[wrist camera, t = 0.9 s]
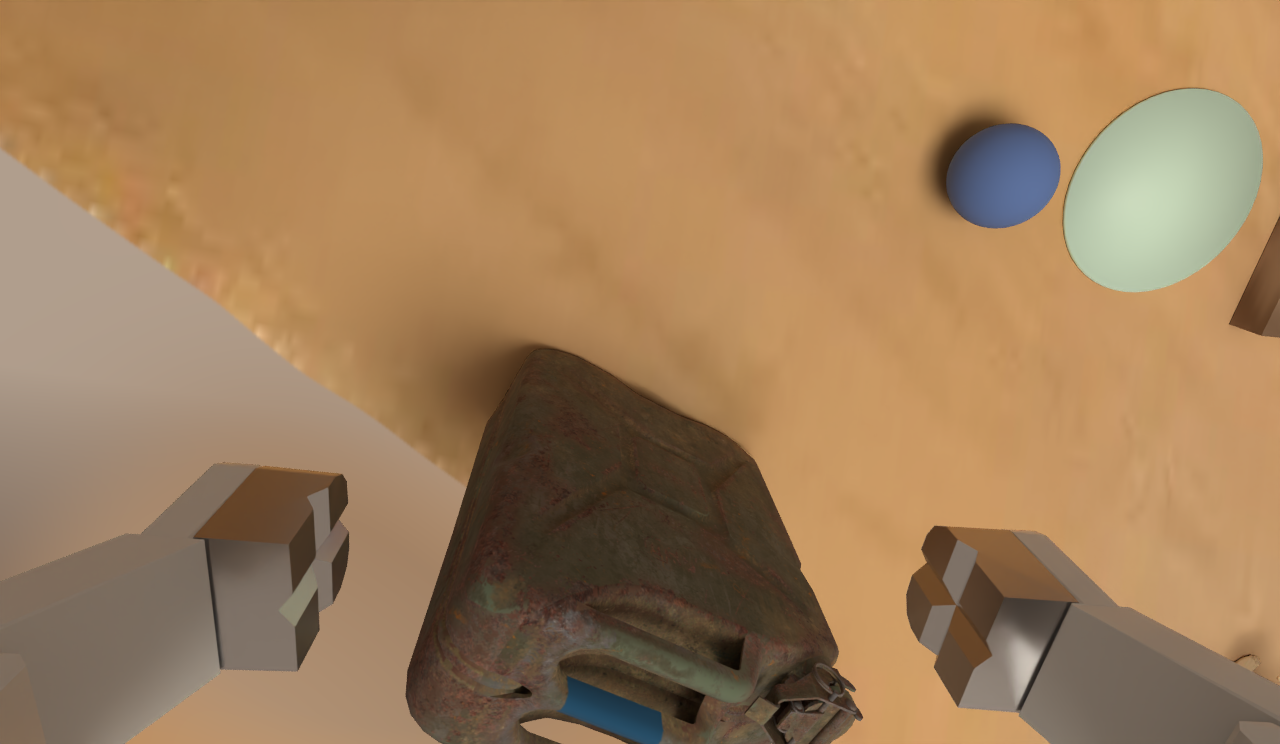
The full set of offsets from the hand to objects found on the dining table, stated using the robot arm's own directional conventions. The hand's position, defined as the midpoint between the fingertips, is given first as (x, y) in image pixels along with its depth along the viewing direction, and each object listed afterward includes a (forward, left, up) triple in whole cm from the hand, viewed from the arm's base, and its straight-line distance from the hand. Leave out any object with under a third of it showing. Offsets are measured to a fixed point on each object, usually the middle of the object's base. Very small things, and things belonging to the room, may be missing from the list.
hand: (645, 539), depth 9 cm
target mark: (-4, +36, -35) cm, 51 cm away
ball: (-4, +23, -32) cm, 40 cm away
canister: (+17, +3, -36) cm, 40 cm away
